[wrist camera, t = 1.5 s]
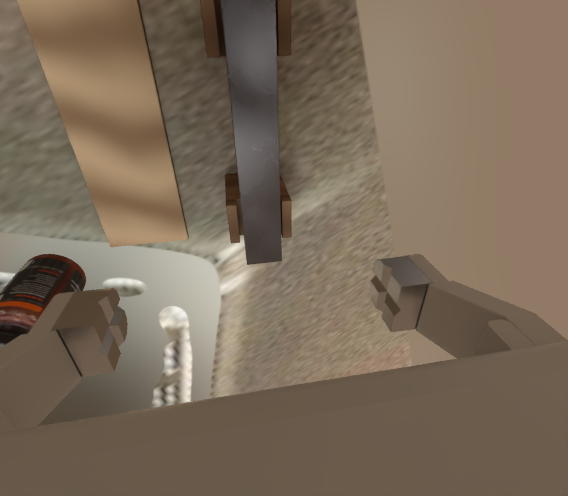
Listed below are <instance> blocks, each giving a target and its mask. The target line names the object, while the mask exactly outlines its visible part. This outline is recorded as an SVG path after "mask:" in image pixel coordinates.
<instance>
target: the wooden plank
mask: <svg viewBox="0 0 568 496" xmlns="http://www.w3.org/2000/svg"><path fill="white" fill-rule="evenodd" d="M17 2H18V4H19V7H20V9H21V12H22V15H23V17H24V20H25V23H26V25H27V28H28V31H29V33H30V36H31V38H32V41H33V44H34V46H35V49H36V52H37V54H38V57H39V60H40V62H41V65H42V68H43V70H44V73H45V75H46V78H47V81H48V83H49V86H50V89H51V91H52V94H53V97H54V99H55V102H56V104H57V107H58V110H59V112H60V115H61V118H62V120H63V123H64V126H65V128H66V131H67V134H68V136H69V139H70V141H71V144H72V147H73V149H74V152H75V155H76V157H77V160H78V163H79V165H80V168H81V171H82V173H83V176H84V178H85V181H86V184H87V186H88V189H89V192H90V194H91V197H92V200H93V202H94V205H95V207H96V210H97V213H98V215H99V218H100V221H101V223H102V226H103V229H104V231H105V234H106V237H107V239H108V242H109V244H110V247H117V246H127V245H137V244H147V243H157V242H168V241H178V240H188V234H187V229H186V224H185V220H184V215H183V210H182V205H181V201H180V196H179V191H178V187H177V182H176V177H175V173H174V168H173V163H172V159H171V154H170V149H169V144H168V140H167V135H166V130H165V126H164V121H163V116H162V112H161V107H160V102H159V97H158V93H157V88H156V83H155V79H154V74H153V69H152V65H151V60H150V55H149V51H148V46H147V41H146V36H145V32H144V27H143V22H142V18H141V13H140V8H139V4H138V0H17Z"/></svg>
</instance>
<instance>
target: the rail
mask: <svg viewBox="0 0 568 496" xmlns="http://www.w3.org/2000/svg"><path fill="white" fill-rule="evenodd" d="M221 10H222V21H223V31H224V41H225V51H226V61H227V71H228V81H229V91H230V101H231V111H232V121H233V131H234V141H235V151H236V161H237V171H238V181H239V191H240V201H241V211H242V221H243V231H244V242H245V251H246V259H247V265H250V264H259V263H268V262H277V261H282V251H281V210H280V168H279V127H278V85H277V44H276V2H275V0H221Z"/></svg>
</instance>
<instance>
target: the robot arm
mask: <svg viewBox="0 0 568 496" xmlns="http://www.w3.org/2000/svg"><path fill="white" fill-rule="evenodd" d="M373 272H374V273H375V274H376V275H375V277H374V278H373V279H372V280H371V283H370V295H371V299H372V302H373V304H374V306H375V307H376V308H377V309H379V310H380V311H382V312H383V313H382V319H383V320H384V322H385V323H386V325H387V327H388V328H389V330H390V331H391V332H396V331H404V330H413V329H416V331H418V332H419V333H421V334H422V335H424V336H425V337H426V338H428V339H429V340H431V341H432V342H434V343H435V344H437V345H438V346H440V347H441V348H442V349H444V350H445V351H447V352H448V353H450V354H451V355H453V356H454V357H456V358H457V359H453V360H447V361H440V362H434V363H428V364H422V365H416V366H410V367H404V368H398V369H391V370H385V371H379V372H373V373H366V374H360V375H354V376H348V377H341V378H335V379H329V380H323V381H316V382H310V383H304V384H298V385H292V386H285V387H279V388H273V389H267V390H261V391H255V392H249V393H242V394H236V395H230V396H224V397H218V398H212V399H205V400H200V401H194V402H187V403H181V404H175V405H168V406H162V407H156V408H150V409H144V410H138V411H131V412H126V413H119V414H113V415H107V416H100V417H95V418H88V419H82V420H76V421H70V422H63V423H57V424H51V425H45V426H39V427H37V425H38V424H39V423H40V422H41V421H42V420H43V419H44V418H45V417H46V416H47V415H48V414H49V413H50V412H51V411H52V410H53V409H54V408H55V407H56V406H57V405H58V404H59V402H61V400H62V399H63V398H64V397H65V396H66V395H67V394H68V393H69V392H70V391H71V390H72V389H73V388H74V387H75V386H76V385H77V384H78V383H79V382H80V381H81V380H82V377H88V376H93V375H99V374H105V373H111V372H114V371H115V368H116V365H117V362H118V359H119V356H120V354H121V353H120V350H119V348H118V347H119V346H120V345H121V344H122V343H123V342H124V341H125V338H126V335H127V318H126V314H125V311H124V310H123V309H121V308H120V307H118V306H117V305H118V303H119V300H120V298H119V295H118V293H117V291H116V290H115V289H113V288H110V289H99V290H88V291H78V292H67V293H59V294H57V295H55V296H54V297H53V298H52V300H51V301H50V303H49V304H48V306H47V307H46V308H45V310H44V311H43V313H42V314H41V316H40V317H39V318H38V320H37V321H36V323H35V324H34V326H33V327H32V328H31V330H30V331H29V333H28V334H22V335H20V336H18V337H17V338H15V339H14V340H12V341H11V342H9V343H7V344H6V345H4V346H3V347H1V348H0V496H568V340H567V339H565V338H564V337H563V336H562V335H561V334H559V333H558V332H557V331H555V330H554V329H553V328H552V327H551V326H550V325H548V324H547V323H546V322H545V321H543V320H542V319H541V318H540V317H539V316H537V315H536V314H535V313H532V312H530V311H527V310H525V309H523V308H520V307H517V306H515V305H512V304H510V303H507V302H505V301H502V300H500V299H497V298H495V297H492V296H490V295H487V294H485V293H482V292H480V291H477V290H475V289H472V288H470V287H467V286H465V285H462V284H460V283H457V282H454V281H448V280H447V279H446V278H445V277H444V276H443V275H442V274H441V273H440V272H439V271H438V270H437V269H436V268H435V267H434V266H433V265H432V264H431V263H429V261H428V260H426V258H425V257H424V256H422V255H420V254H414V255H407V256H402V257H394V258H386V259H377V260H375V262H374V264H373Z"/></svg>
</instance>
